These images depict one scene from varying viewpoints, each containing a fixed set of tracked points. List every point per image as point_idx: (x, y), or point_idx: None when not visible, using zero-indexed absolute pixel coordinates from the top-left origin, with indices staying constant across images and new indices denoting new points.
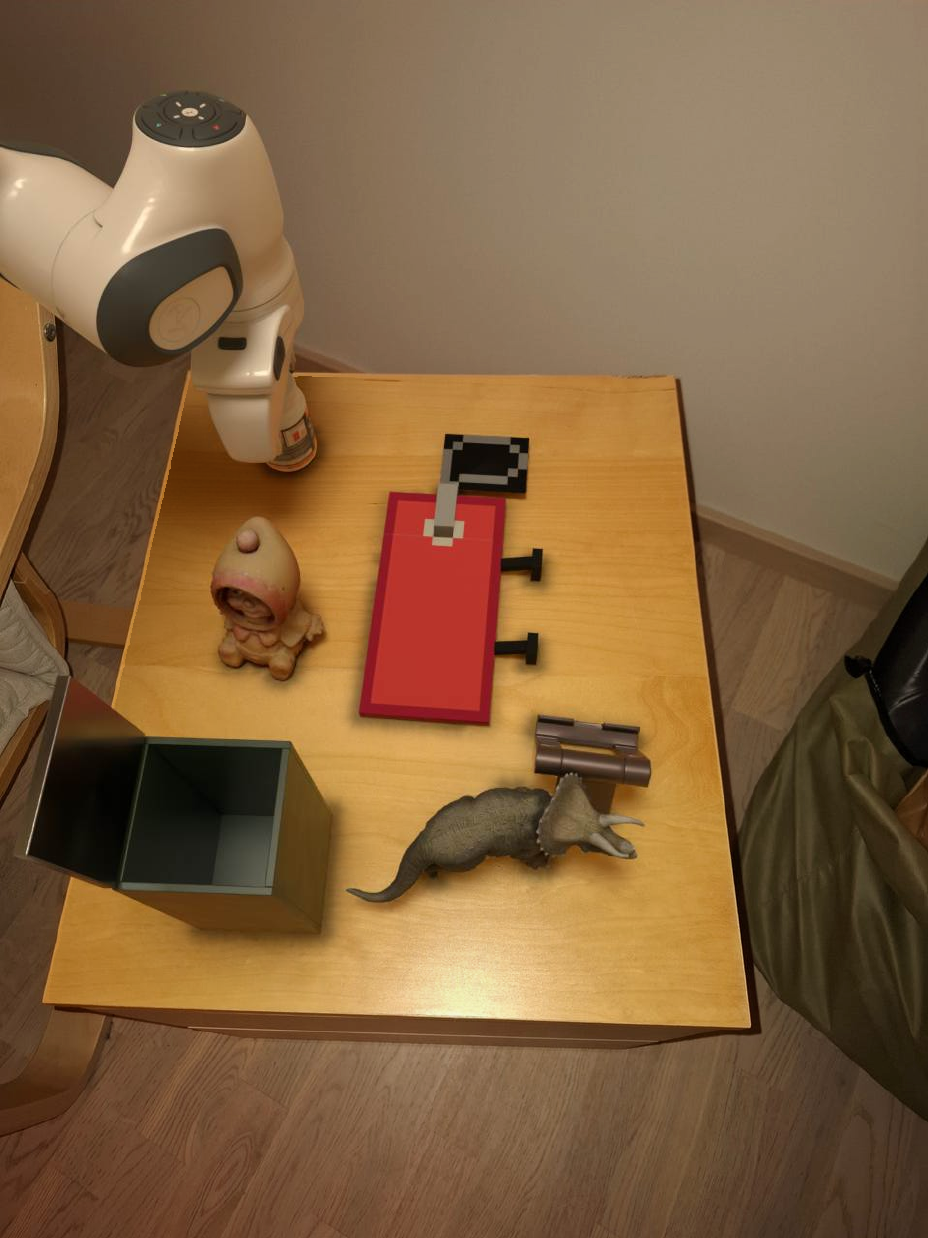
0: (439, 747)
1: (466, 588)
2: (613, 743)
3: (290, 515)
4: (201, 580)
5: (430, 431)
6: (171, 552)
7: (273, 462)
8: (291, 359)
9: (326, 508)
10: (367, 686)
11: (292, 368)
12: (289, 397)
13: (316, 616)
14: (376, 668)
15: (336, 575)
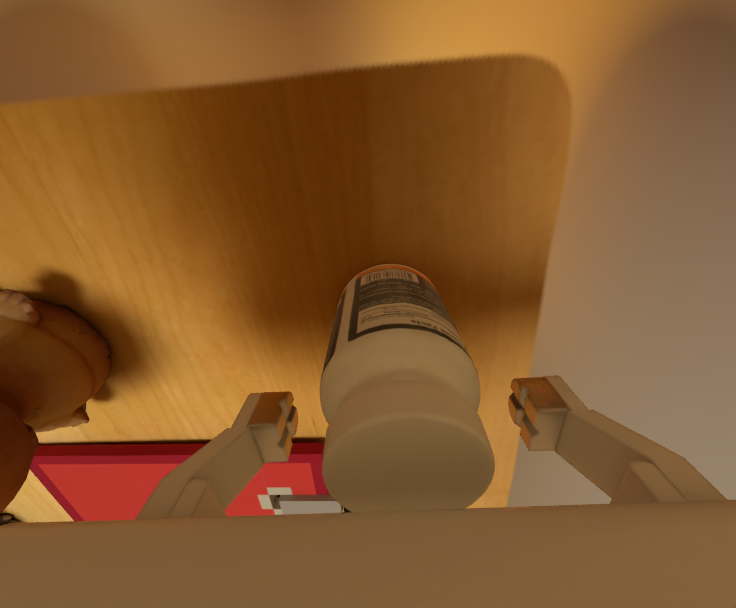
0: None
1: None
2: None
3: (263, 330)
4: (79, 214)
5: None
6: (100, 130)
7: (336, 310)
8: (538, 448)
9: (290, 373)
10: (53, 459)
11: (518, 423)
12: None
13: (79, 422)
14: (80, 464)
15: (191, 399)
